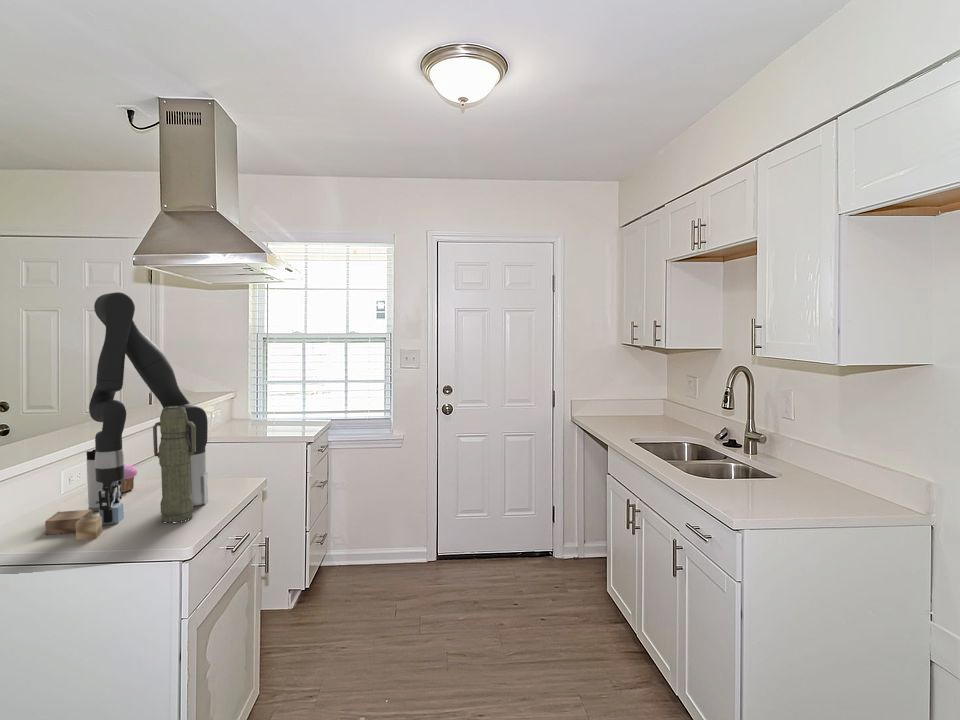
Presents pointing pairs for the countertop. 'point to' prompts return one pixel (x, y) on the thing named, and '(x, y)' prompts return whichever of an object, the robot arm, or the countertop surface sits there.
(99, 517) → the oak block
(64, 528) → the walnut plinth
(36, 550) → the countertop surface
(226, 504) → the countertop surface
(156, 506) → the countertop surface
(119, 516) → the slate block
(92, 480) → the travel mug
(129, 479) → the cupcake
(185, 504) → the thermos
